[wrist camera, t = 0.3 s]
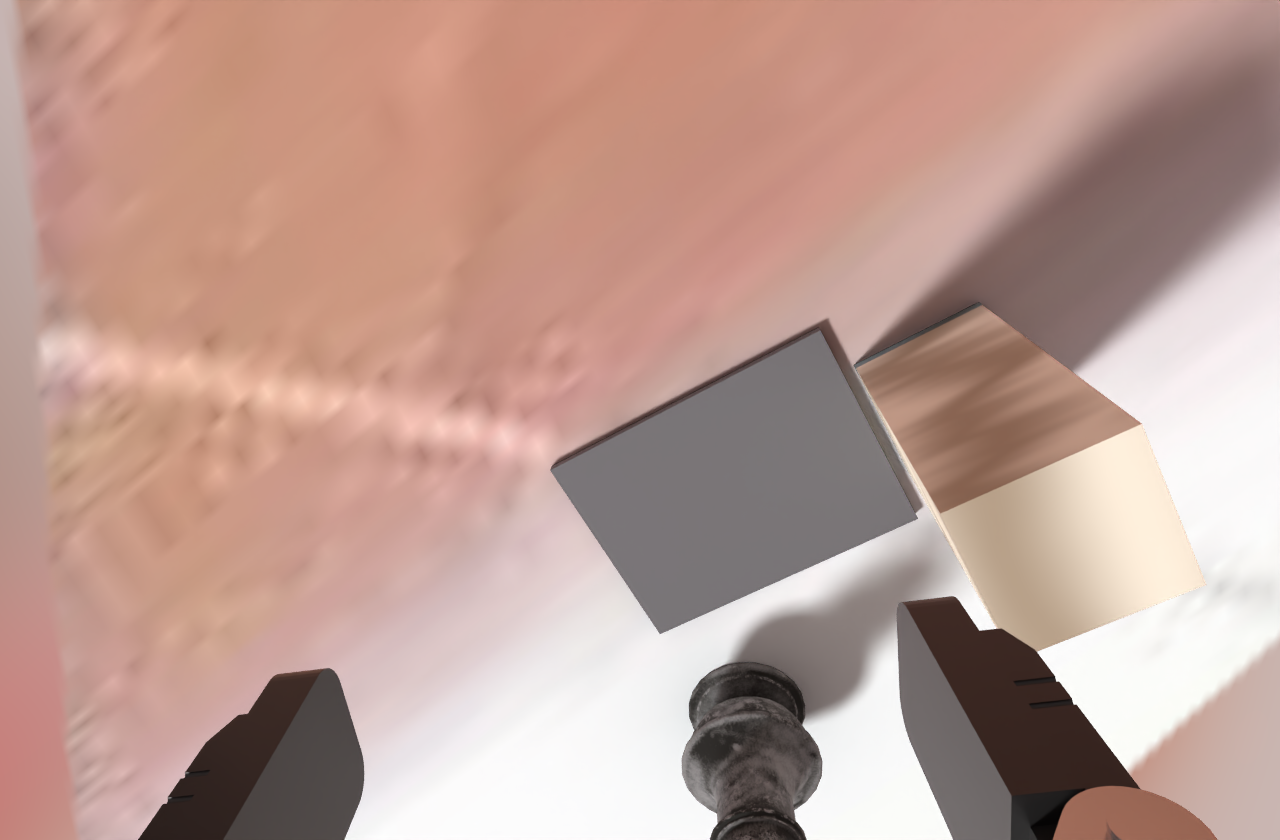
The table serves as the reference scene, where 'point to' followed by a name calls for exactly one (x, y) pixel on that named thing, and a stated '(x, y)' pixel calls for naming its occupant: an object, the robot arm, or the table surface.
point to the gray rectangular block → (737, 484)
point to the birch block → (1031, 478)
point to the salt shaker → (750, 752)
